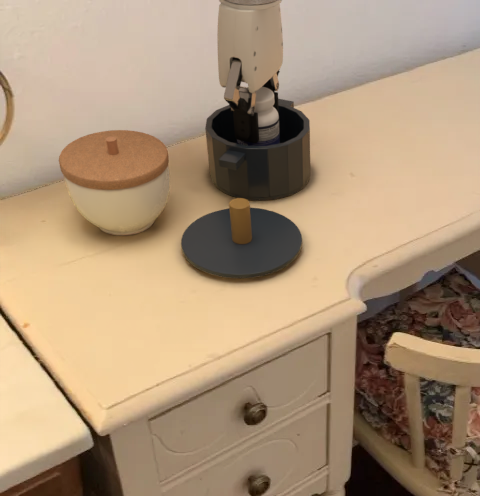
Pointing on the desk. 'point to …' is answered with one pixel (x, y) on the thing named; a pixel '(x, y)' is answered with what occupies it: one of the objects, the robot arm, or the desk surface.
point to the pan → (259, 156)
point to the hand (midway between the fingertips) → (257, 128)
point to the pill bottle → (264, 118)
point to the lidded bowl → (117, 179)
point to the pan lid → (241, 241)
